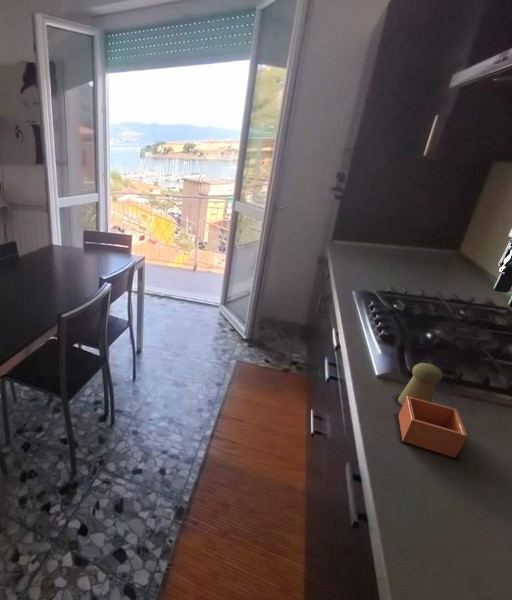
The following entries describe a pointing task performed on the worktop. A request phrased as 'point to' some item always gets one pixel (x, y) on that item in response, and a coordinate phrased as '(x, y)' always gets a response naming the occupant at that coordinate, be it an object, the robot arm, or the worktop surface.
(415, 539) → the worktop surface
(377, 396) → the worktop surface
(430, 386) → the cork
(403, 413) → the box
